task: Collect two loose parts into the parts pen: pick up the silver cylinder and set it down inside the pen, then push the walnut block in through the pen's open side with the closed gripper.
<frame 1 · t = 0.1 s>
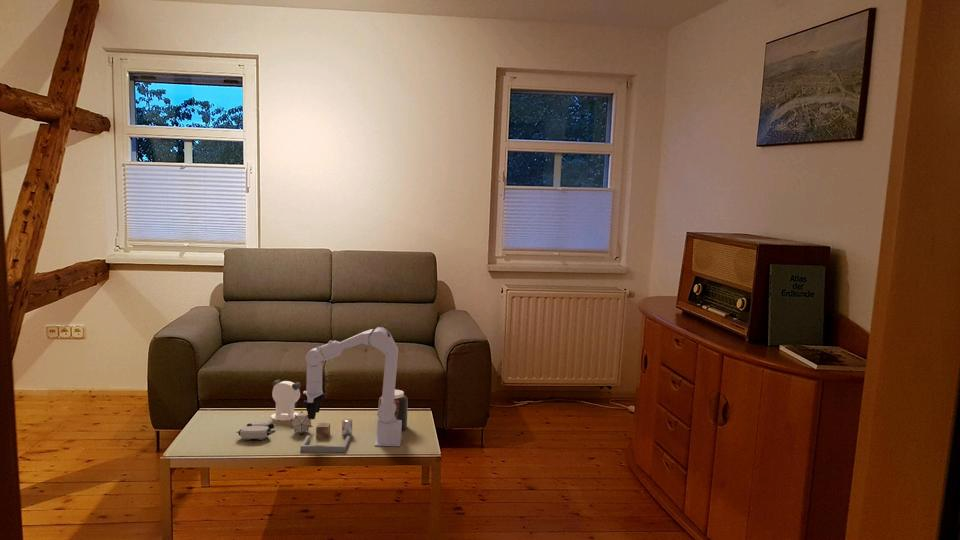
hand: (314, 415, 230), 10 cm above the table, tool pointing down, fingers open, 7 cm apart
jar: (392, 428, 249), on the table
parts pen: (325, 446, 227), on the table
game die: (301, 433, 240), on the table
walnut block: (323, 436, 237), on the table
robot toy: (257, 436, 235), on the table
panda figurine: (285, 416, 258), on the table
silver cylinder: (346, 435, 239), on the table
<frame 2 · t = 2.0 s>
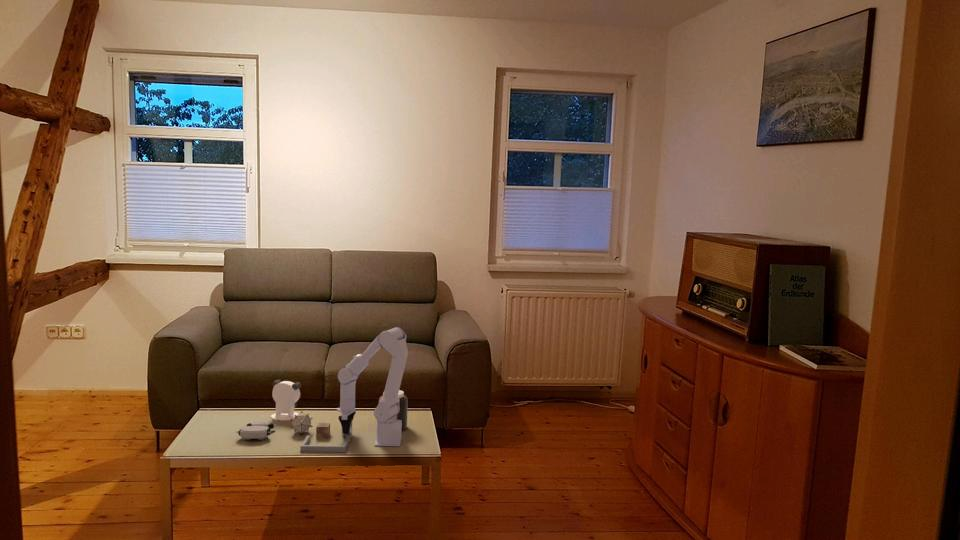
hand: (346, 431, 238), 1 cm above the table, tool pointing down, fingers closed on silver cylinder, 4 cm apart
silver cylinder: (346, 435, 239), on the table, touching gripper
everything else where it was.
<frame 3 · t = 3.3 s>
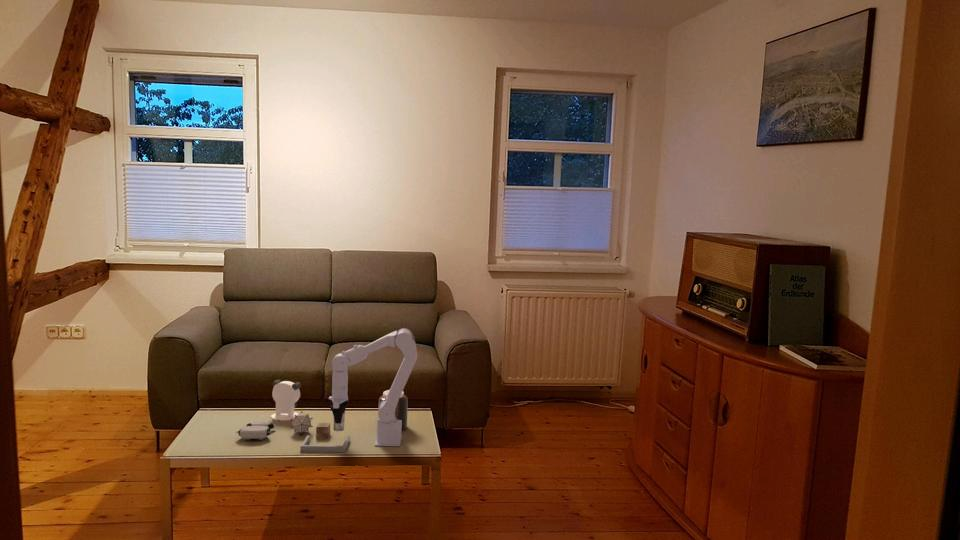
hand: (339, 421, 230), 8 cm above the table, tool pointing down, fingers closed on silver cylinder, 4 cm apart
silver cylinder: (338, 429, 230), point 5 cm above the table, touching gripper
everything else where it was.
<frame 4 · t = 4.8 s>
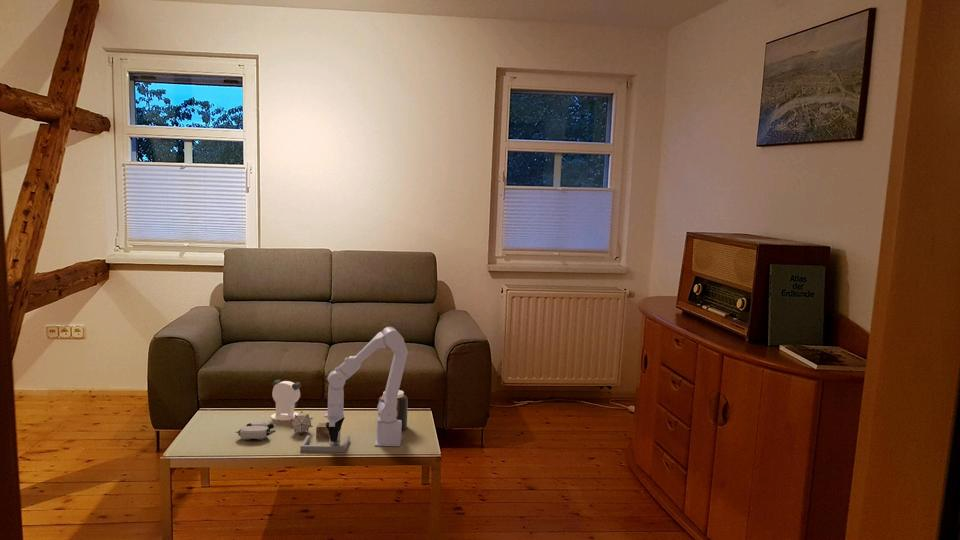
hand: (334, 439, 226), 3 cm above the table, tool pointing down, fingers closed on silver cylinder, 4 cm apart
silver cylinder: (334, 446, 227), on the table, touching gripper
everything else where it was.
when the fingers open (3 cm above the table, at t = 5.0 s): silver cylinder stays where it is, on the table.
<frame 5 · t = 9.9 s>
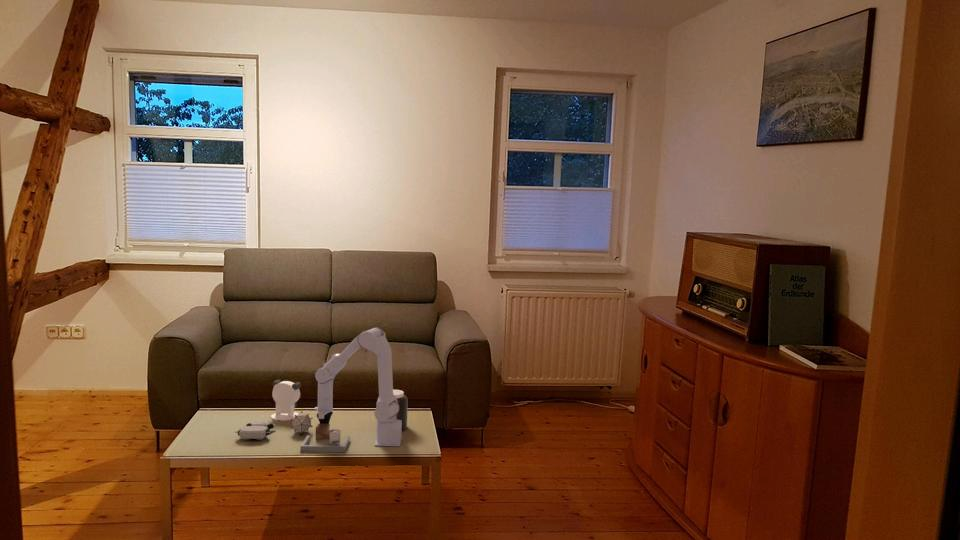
hand: (324, 430, 240), 1 cm above the table, tool pointing down, fingers closed
walnut block: (322, 436, 236), on the table, touching gripper
silver cylinder: (334, 446, 227), on the table
everything else where it was.
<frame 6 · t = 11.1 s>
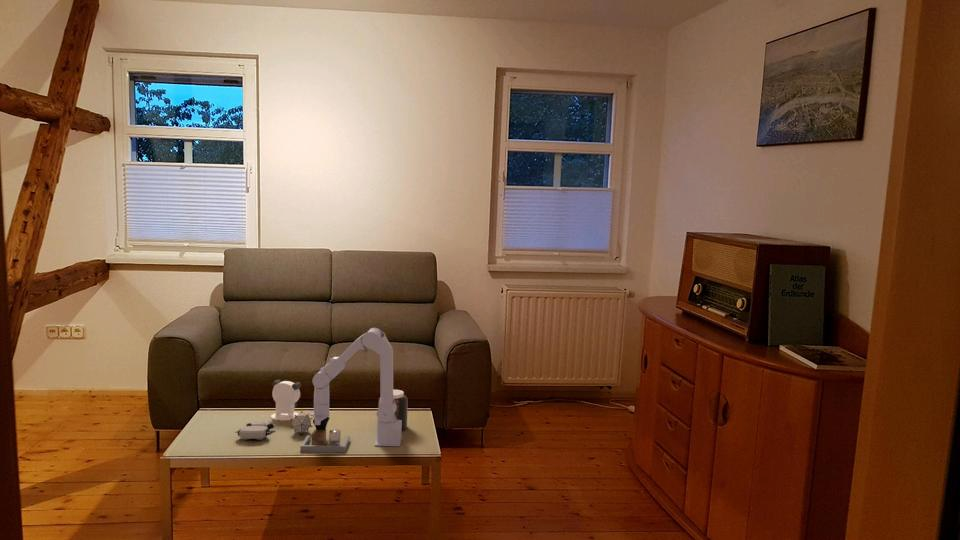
hand: (320, 437, 233), 1 cm above the table, tool pointing down, fingers closed
walnut block: (318, 443, 229), on the table, touching gripper
everything else where it was.
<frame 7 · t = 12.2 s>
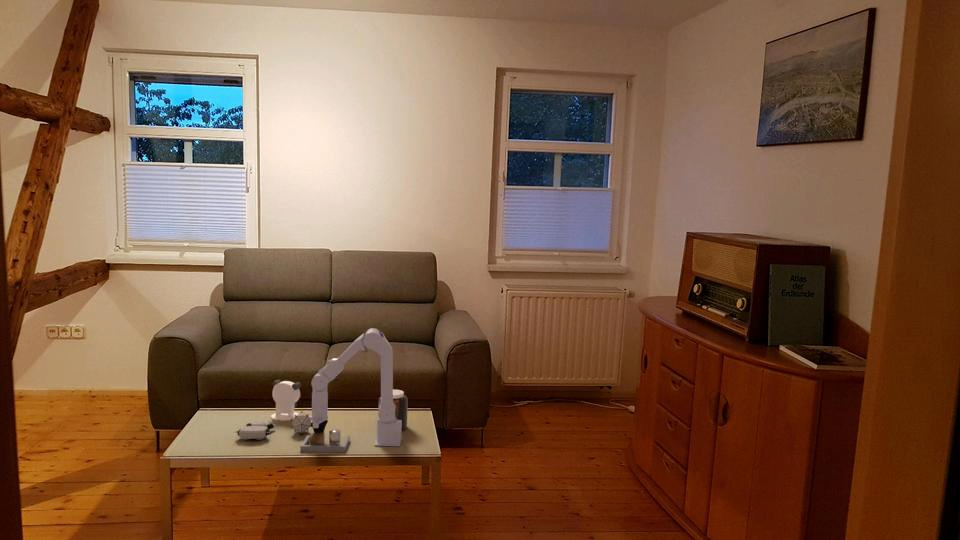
hand: (319, 440, 230), 1 cm above the table, tool pointing down, fingers closed
walnut block: (317, 446, 226), on the table, touching gripper
everything else where it was.
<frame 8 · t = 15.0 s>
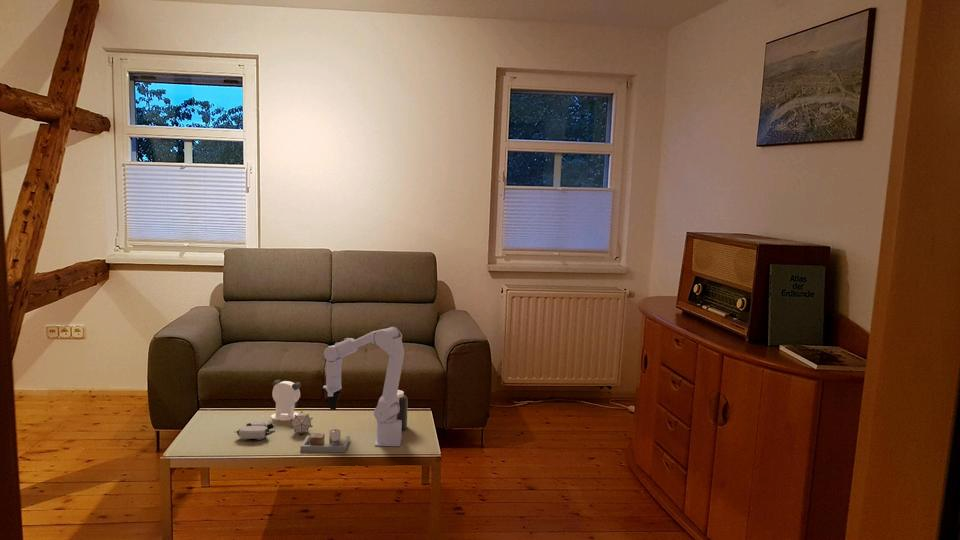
hand: (333, 409, 240), 9 cm above the table, tool pointing down, fingers closed
walnut block: (317, 447, 226), on the table
everything else where it was.
at the end: silver cylinder inside the target area on the parts pen (3.5 cm from its centre), point 0.0 cm above the parts pen's base; silver cylinder tilted 0°; walnut block inside the target area on the parts pen (3.2 cm from its centre), point 0.0 cm above the parts pen's base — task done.
